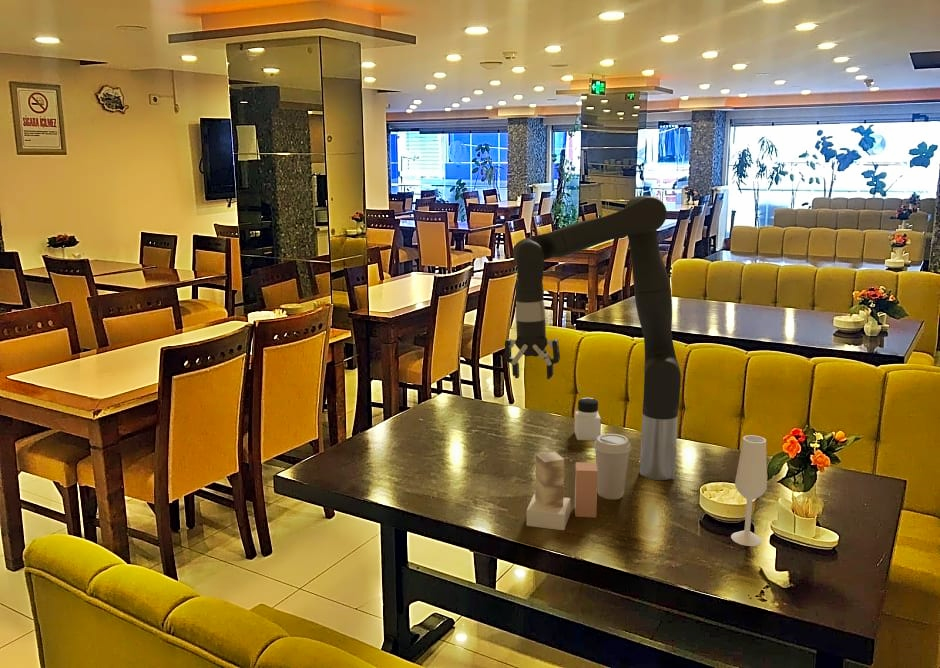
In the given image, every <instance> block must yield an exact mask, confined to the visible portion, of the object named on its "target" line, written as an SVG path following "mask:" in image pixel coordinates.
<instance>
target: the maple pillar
mask: <svg viewBox="0 0 940 668" xmlns="http://www.w3.org/2000/svg"><path fill="white" fill-rule="evenodd" d="M564 483H565V458H564V457H562V456H561V455H560V454H559V453H558V452H556V451H550V452H542V453H538V454H537V453H536V454H535V483H534V484H535V487H534V489H535V491H534V492H535V501H536V502H537V503H538V504H539V505H540V506H541V507H542V508H543V509H544V510H547V509H553V508H558V507H563V497H564V492H565V489H564V488H565V485H564Z"/></svg>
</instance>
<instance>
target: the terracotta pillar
mask: <svg viewBox="0 0 940 668" xmlns="http://www.w3.org/2000/svg"><path fill="white" fill-rule="evenodd" d="M597 479H598V470H597V463H596V462H584V461H583V462H579V461H577V462H575V479H574V480H575V481H574V514H575V515H574V516H575V517H576V518H597V511H598V510H597V506H598V504H597V503H598V486H597Z"/></svg>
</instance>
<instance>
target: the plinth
mask: <svg viewBox="0 0 940 668" xmlns="http://www.w3.org/2000/svg"><path fill="white" fill-rule="evenodd" d="M570 515H571V498H570V497H564V496H563V507H558V508H553V509H547V510H544V509H543V508H542V507H541V506H540V505H539V504H538V503H537V502H536V501H535V494H533V495H532V497H531V500H530V502H529V504H528V506H527V508H526V526H527V527H534V528H542V529H550V530H556V531H557V530H558V531H565V529H566V527H567V523H568V521H569V518H570Z"/></svg>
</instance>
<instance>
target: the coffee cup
mask: <svg viewBox="0 0 940 668" xmlns="http://www.w3.org/2000/svg"><path fill="white" fill-rule="evenodd" d="M593 448H594V451H595V463H597V470H598V479H597V496H599V497H600V496H601V497H600V498H602V497H603V498H602V499H606V500H619V499H621V497H622V498H623V497H624V495H625V494H624V493H625V486H626V479H627V472H628V464H629V457H630V451H632V444H631V442H630V441H629V438H628V437H627V436H625V435H622V434H618V433H603V434H600V436H598V437H597V439H596V440H594V443H593Z"/></svg>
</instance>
